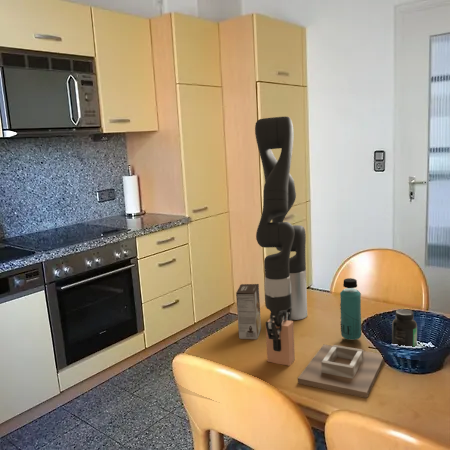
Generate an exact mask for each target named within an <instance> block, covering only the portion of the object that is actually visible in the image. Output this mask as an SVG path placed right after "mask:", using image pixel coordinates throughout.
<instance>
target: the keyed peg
mask: <svg viewBox="0 0 450 450" xmlns="http://www.w3.org/2000/svg"><path fill="white" fill-rule="evenodd" d="M269 321H270V318H269V319H268V320H267V321H266V322H269ZM266 322H265V326H266ZM276 328H280V326H279V327H277V326H276ZM294 331H295V329H294V320H291V321H288V320H287V321H284V322H283V325H282V331H281V351H280V352H279V351H274V350H273V339H269V337H268V333H267V329H266V328H265V342H266V361H267V362H269V363H274V364H277V365H283V366H288V367H291V365H292V364H293V363H294V361H296V359H295V358H296V355H295V354H296V353H295V332H294ZM277 334H278V331H277Z"/></svg>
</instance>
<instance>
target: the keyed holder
mask: <svg viewBox="0 0 450 450" xmlns="http://www.w3.org/2000/svg"><path fill="white" fill-rule="evenodd" d="M381 354H382V353H377V352H372V351H366V350H364V349H362V348H356V347H355V348H354V347H349V346H344V345H337V344H333V345H330V344H329V345H328V344H323V345H322V346H321V347H320V348H319V350H318V351H317V352H316V353H315V355H314V356H313V357H312V358H311V360H310V362H309V363H308V364H307V365H306V367H305V368H304V369H303V370H302V372H301V373H300V375H299V376H298V377H297V384H300V385H303V386H309V387H312V386H313V388H317V387H318V389H322V390H327V391H331V392H336V393H339V394H340V393H341V394H346V395H351V396H355V397H360V398H364V399H367V398H368V396H369V394H370V392H371V391H372V387H373V386H374V383H375V382H376V380H377V377H378V375H379V372H380V371H381V369H382V366H383V364H384V362H385V360H384V359H383V357H382V355H381Z"/></svg>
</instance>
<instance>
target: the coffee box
mask: <svg viewBox="0 0 450 450" xmlns="http://www.w3.org/2000/svg"><path fill="white" fill-rule="evenodd" d="M235 295H236V310H237V311H236V312H237V313H236V314H237V326H238V339H239V340H240V339H241V340H258V339H259V336H260V333H261V329H262V320H261V317H262V316H261V304H260V302H261V301H260V285H259V283H251V284H250V283H244V284H243V283H242V284H240V285H239V286H238V289H237V290H236V292H235Z"/></svg>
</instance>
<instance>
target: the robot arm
mask: <svg viewBox="0 0 450 450" xmlns="http://www.w3.org/2000/svg"><path fill="white" fill-rule="evenodd" d="M254 136H255V139H256V144H257V150H258V152H259V157H260V162H261V165H262V169H263V175H264V185H263V194H262V195H263V197H262V198H263V199H262V201H263V202H262V203H263V204H262V212H261V215H260V216H261V217H260V221H259V222H258V225H257V229H256V234H255V237H256V238H255V239H256V242H257V244H258V245H259V247H261V248H275V249H276V250H277V251H279V252H276V253H272V254H269V255H267V256H265V257H264V261H263V263H264V284H263V285H264V301H265V302H264V304H265V308H266V309H268V310H269V311H270V315H269V319H270V321H269V322H267V321H266V322H265V323H266V325H265V330H266V329H267V333H268V337H269V339H273V350H274V351H279V352H280V351H281V331H282V325H283V322H284V321H287V320H288V321H296V320H297V321H298V320H303V319H306V317H308V298H307V297H308V296H307V295H308V292H307V269H306V268H307V267H306V264H307V263H306V243H307V242H306V241H307V239H306V229H305V227H304V226H303V225H297V224H296V225H295V224H292V223H290V222H289V221H284V220H285V219H286V217H287V215H288V213H289V211H290V210H291V209H292V207H293V205H294V204H295V201H296V199H297V197H296V196H297V193H296V192H297V191H296V186H295V185H296V184H295V181H294V178H293V176H292V175H291V173H290V171H291V166H292V157H293V149H294V138H295V137H294V136H295V135H294V125H293V121H292V119H291V117H290V116H277V117H276V116H274V117H266V118H260V119H258V120H256V122H255V125H254ZM274 149H275V150H277V149H279V150H280V149H281V150H280V155H279V157H278V160H277V158H276V157H275V154H274V153H273V150H274ZM291 252H292V253H293V252H295V254H294V255H293V256H291ZM290 256H291V257H290ZM276 326H277V327H279V326H280V328H276ZM277 331H278V334H277Z"/></svg>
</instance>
